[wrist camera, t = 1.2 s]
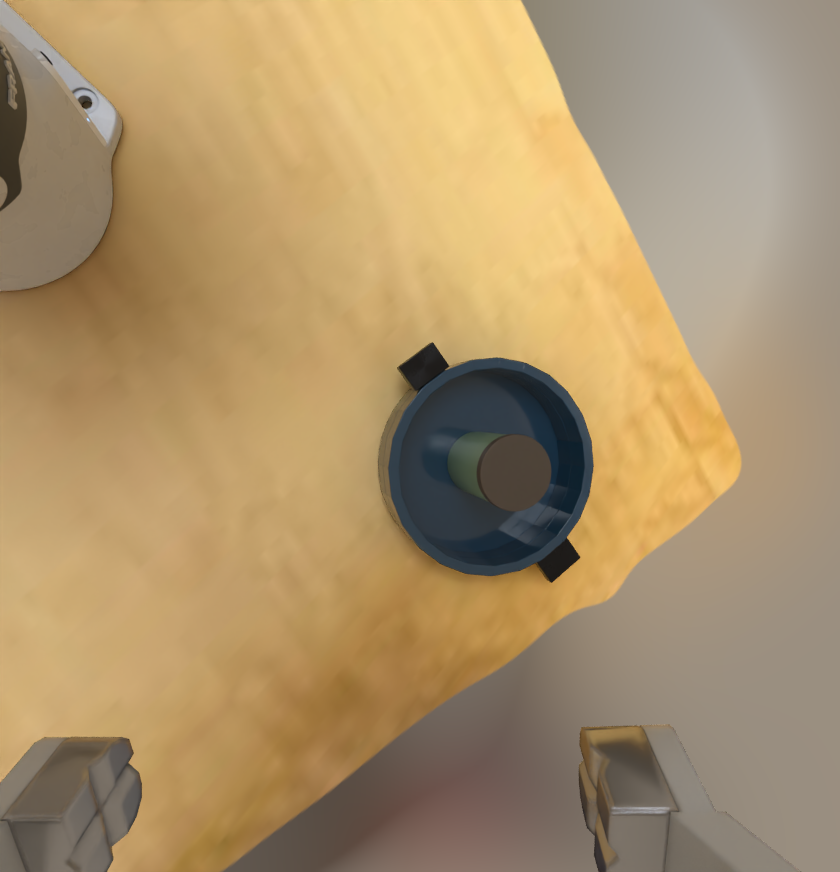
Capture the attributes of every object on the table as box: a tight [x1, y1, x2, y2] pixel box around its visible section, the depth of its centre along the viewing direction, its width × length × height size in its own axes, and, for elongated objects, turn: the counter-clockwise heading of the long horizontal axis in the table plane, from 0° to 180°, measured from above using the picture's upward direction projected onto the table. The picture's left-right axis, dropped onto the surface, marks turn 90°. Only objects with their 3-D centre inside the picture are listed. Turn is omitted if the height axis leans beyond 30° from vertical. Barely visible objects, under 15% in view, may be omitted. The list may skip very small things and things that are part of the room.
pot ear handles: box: [397, 342, 580, 583], centre depth 43 cm, size 21×3×1 cm, turn 36°
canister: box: [447, 432, 551, 511], centre depth 43 cm, size 5×5×8 cm
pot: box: [378, 358, 594, 576], centre depth 45 cm, size 17×17×4 cm
